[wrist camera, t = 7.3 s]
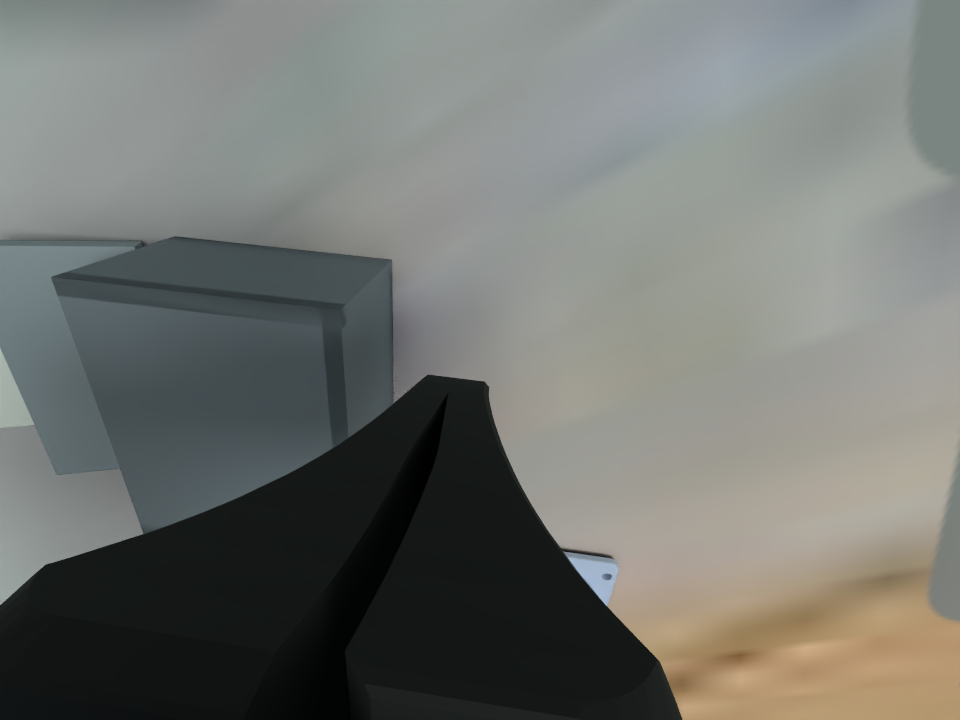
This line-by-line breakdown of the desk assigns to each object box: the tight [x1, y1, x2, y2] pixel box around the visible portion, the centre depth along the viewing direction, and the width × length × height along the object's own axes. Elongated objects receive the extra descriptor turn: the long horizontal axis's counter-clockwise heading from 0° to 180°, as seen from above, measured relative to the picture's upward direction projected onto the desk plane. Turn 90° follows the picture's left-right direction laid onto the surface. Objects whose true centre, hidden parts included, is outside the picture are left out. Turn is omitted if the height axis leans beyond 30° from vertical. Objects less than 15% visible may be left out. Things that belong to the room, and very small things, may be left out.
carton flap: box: [0, 240, 143, 475], centre depth 20 cm, size 11×1×9 cm
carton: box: [51, 237, 393, 534], centre depth 19 cm, size 11×9×6 cm
